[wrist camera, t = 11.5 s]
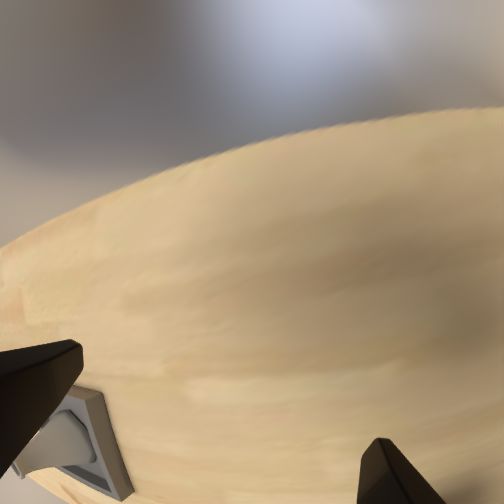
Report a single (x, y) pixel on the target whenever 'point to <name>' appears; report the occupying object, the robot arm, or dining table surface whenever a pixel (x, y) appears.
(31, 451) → the flask
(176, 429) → the dining table surface
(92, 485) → the tray
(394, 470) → the robot arm
